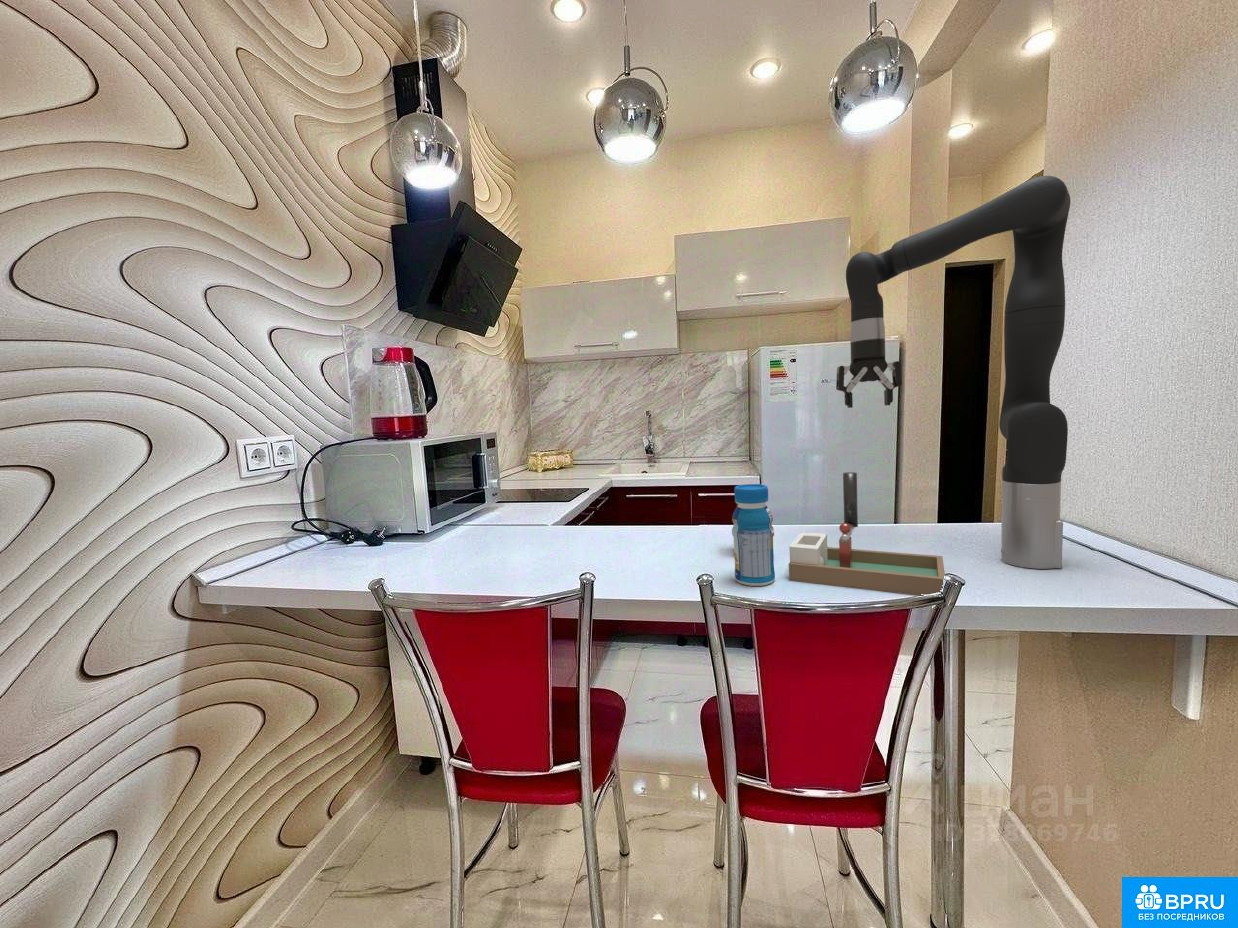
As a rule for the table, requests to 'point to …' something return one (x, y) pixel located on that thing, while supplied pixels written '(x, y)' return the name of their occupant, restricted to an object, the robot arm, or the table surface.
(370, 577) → the table surface
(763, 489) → the beverage bottle
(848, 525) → the rod
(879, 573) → the pitch
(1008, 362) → the robot arm
